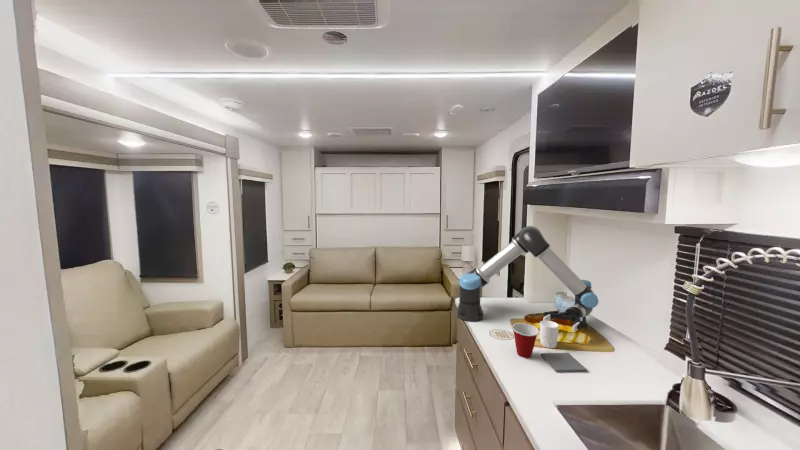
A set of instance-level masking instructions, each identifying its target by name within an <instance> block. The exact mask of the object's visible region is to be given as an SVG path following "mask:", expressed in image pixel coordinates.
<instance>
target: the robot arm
mask: <svg viewBox="0 0 800 450" xmlns="http://www.w3.org/2000/svg"><path fill="white" fill-rule="evenodd" d="M528 253H530V254H531V255H532V256H533V257H534V258H538V259H539V260H540V262H542V263H543V264H544V265H545V266H546V267H547V268H548V270H550V271H551V273H553V275H554V276H555V277H557V279H558V280H559V281H560V282H561V283H562V284H563V285H564V286H565V287H566V288H567V289H568V290H569V291H570V292H571V293H572V294H573V295H574V304H573V305H572V306H570V307H568V308H567V309H566V310H565V311H561V310H559V309H557V310H553V311H545V312H544V313H543V314H544V315H543V319H542V321H551V320H558V319H559V320H563V321H565V320H566V321H569V320H570V321H569V322H571V321H572V322H571V323H574V324H573V325H572V332H573V333H574V332H577V331H578V330H581V329H585V330H588V327H589V326H588V325H589V324H588V322H587V316H589V315H590V314H591V313H592V312H593V309H594V308H595V307H597V306H598V305H599V298H598V296H597V294H595V293H594V291H593V289H592V282H591V281H590V280H587V279H581V278H579V276H578V275H577V274H576V273H575V272H574V271H573V270H572V269H571V268H570V267H569V266H568V265H567V263H565V262H564V261H563V260H562V258H561V257H559V256H558V255H557V254H556V253H555V251H553V250H552V249H551V245H550V244H549V243H548V242H547V240H546V239H545V238H544V235H543V234H542V232H541V231H540V229H538V227H536V226H533V225H528V226H524V227H523V228H521V229H520V231H519V232H518V233H517V234H515V235H514V236H513V237H512V238H511V242H510V243H508V244H507V245H506V246H504V247H503V248H502V249H501V250H499V251H498V252H497V253H496V254H495V255H493V257H491V258H489V259H488V260H487V261H486V262H484V264H482V265H481V266H476V267H474V268H473V269H471V270H470V271H468V272H466V273H465V274H462V275H461V276H460V277H459V281H458V283H459V299H458V300H459V303H458V305H457V308H456V311H455V317H456V318H458V319H460V320H462V321H464V322H465V321H466V322H478V321H482V320H483V318H484V312H483V311H484V310H483V308H482V306H481V294H482V293H481V292H482V291H481V290H482V289H483V288H484V287H485V286H487V285H488V284H489V283H490V279H491V278H492V277H493V276H495V275H496V274H497V273H499V272H500V271H501V270H503V269H505V267H506V266H508V265H509V264H511V263H512V262H513V261H514V260H515V259H517V258H518V257H519V256H521V255H522V254H526V255H527V254H528Z"/></svg>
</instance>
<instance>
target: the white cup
mask: <svg viewBox="0 0 800 450" xmlns="http://www.w3.org/2000/svg"><path fill="white" fill-rule="evenodd" d="M559 326H560V325H559V324H558V323H557V322H555V321H552V320H549V321H543V320H541V321H539V340H540V343H541V344H542V345H543V347H545V348H547V349H555V348H557V346H558V337H559V330H560V329H559ZM540 343H539V344H540ZM541 344H540V345H541ZM542 345H541V346H542Z"/></svg>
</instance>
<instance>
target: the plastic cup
mask: <svg viewBox="0 0 800 450" xmlns="http://www.w3.org/2000/svg"><path fill="white" fill-rule="evenodd" d="M511 329H512V330H513V334H514V342H515V348H516V349H515V350H516V354H517V355H518V357H521V358H524V359H529V358H531V357H532V356H533V350H534V347H535V344H536V340H537V337H538V335H540V329H539V328H537V327H536V326H534V325H532V324H529V323H524V322H518V323H517V322H516V323H514V324H513V325H512V327H511Z"/></svg>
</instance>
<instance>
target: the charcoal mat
mask: <svg viewBox="0 0 800 450" xmlns="http://www.w3.org/2000/svg"><path fill="white" fill-rule="evenodd" d="M540 356H541V358H542V359H544V361H545V362H546V363H547V364H548V365H549V366H550V367H551V368H552V369H553V370H554V372H556V373H587V372H588V369H587V368H586V366H584V365H583V364H582V363H580V362H579V361H578V360H577V359H576V358H575V357H574V356H573V355H572V354H570V353H569V352H544V353H543V352H541V353H540Z"/></svg>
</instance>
